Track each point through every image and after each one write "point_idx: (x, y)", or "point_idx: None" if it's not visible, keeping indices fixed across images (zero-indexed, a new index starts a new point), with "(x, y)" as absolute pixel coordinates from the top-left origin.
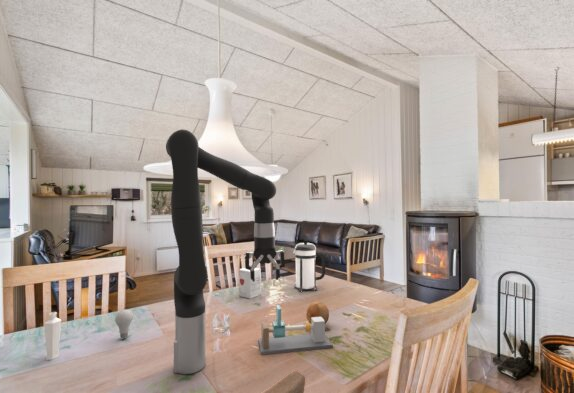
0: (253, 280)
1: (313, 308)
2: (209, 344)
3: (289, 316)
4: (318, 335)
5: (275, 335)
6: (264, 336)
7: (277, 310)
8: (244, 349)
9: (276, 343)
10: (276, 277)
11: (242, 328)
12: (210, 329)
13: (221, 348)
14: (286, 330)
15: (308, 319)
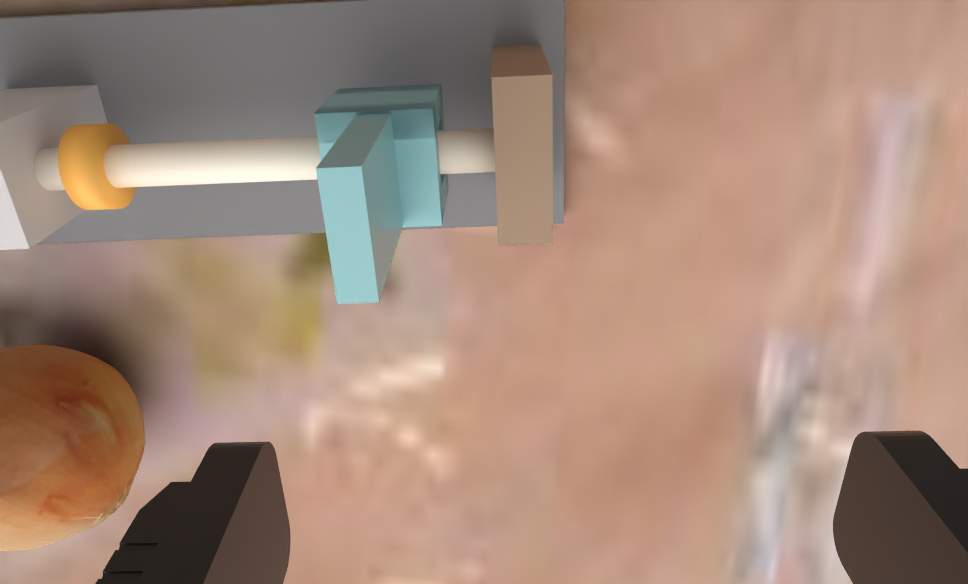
0: (904, 431)
1: (24, 450)
2: (943, 217)
3: (300, 546)
4: (29, 99)
5: (426, 88)
6: (534, 60)
7: (369, 186)
8: (686, 98)
9: None
10: (242, 473)
11: (662, 421)
12: None
13: (862, 141)
14: (313, 136)
15: (127, 404)
